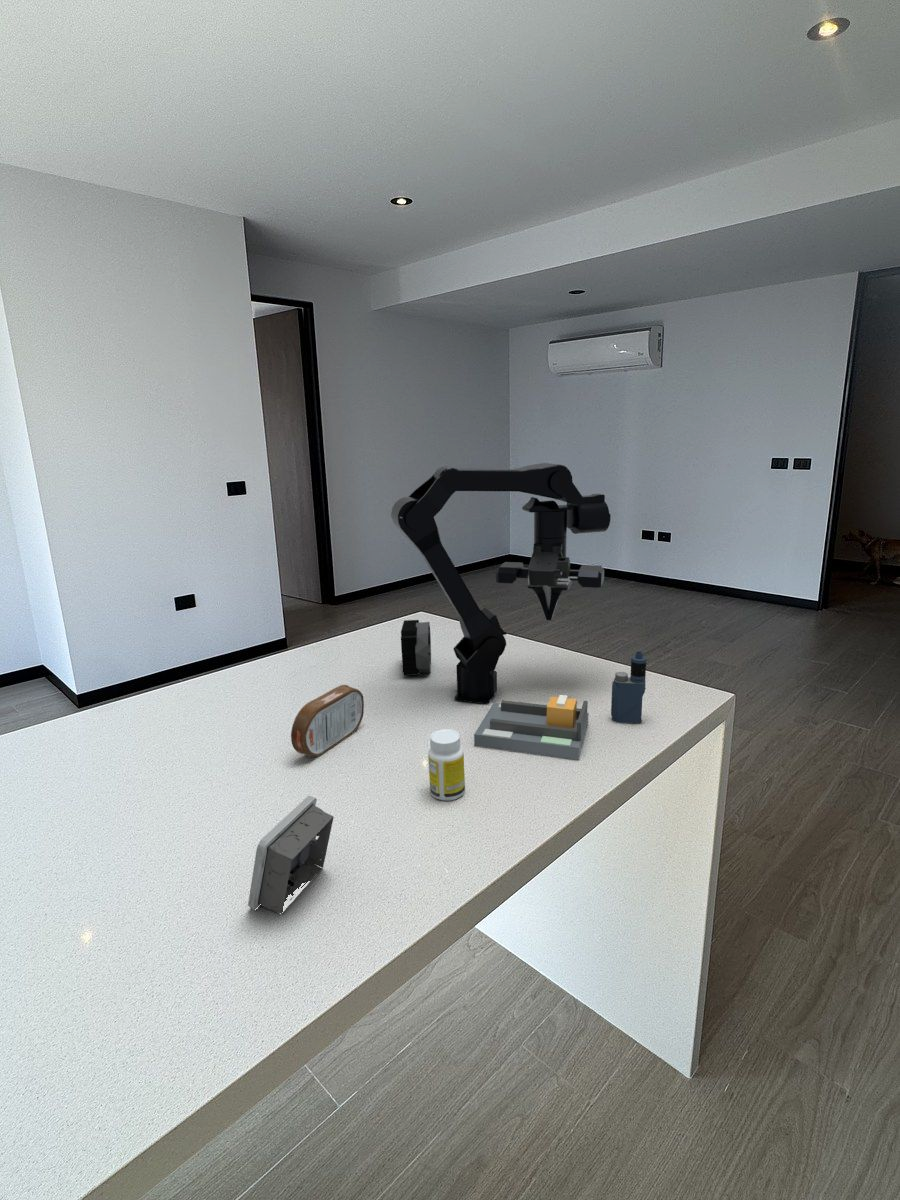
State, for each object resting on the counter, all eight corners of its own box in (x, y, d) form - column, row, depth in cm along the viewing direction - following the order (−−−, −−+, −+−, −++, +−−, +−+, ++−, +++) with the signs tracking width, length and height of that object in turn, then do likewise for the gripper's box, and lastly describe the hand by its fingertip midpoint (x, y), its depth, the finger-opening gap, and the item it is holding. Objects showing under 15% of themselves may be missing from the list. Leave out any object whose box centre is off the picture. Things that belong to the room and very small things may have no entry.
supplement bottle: (469, 785, 87) (467, 730, 85) (458, 804, 83) (456, 746, 81) (436, 780, 89) (434, 725, 86) (424, 798, 84) (422, 742, 82)
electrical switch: (299, 856, 74) (298, 788, 71) (337, 870, 72) (337, 801, 69) (246, 912, 66) (242, 838, 63) (288, 929, 64) (285, 854, 61)
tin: (354, 722, 107) (350, 676, 105) (369, 726, 105) (365, 679, 103) (291, 763, 94) (286, 712, 92) (307, 768, 93) (302, 716, 91)
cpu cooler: (430, 680, 123) (428, 631, 121) (401, 680, 123) (398, 631, 121) (432, 660, 133) (430, 615, 131) (405, 661, 133) (403, 616, 131)
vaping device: (644, 724, 103) (648, 655, 99) (611, 722, 104) (613, 654, 100) (642, 717, 105) (646, 650, 102) (610, 715, 106) (613, 648, 103)
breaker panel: (474, 746, 98) (473, 716, 96) (494, 712, 108) (493, 686, 107) (578, 760, 92) (579, 729, 91) (588, 723, 103) (589, 695, 102)
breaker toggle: (546, 730, 97) (546, 703, 96) (551, 719, 101) (551, 692, 100) (572, 733, 96) (573, 706, 95) (576, 722, 100) (576, 695, 98)
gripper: (487, 542, 107) (488, 629, 111) (599, 545, 101) (596, 637, 105) (503, 531, 117) (503, 612, 121) (605, 534, 111) (602, 618, 115)
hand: (549, 619), depth 115 cm, fingers closed
